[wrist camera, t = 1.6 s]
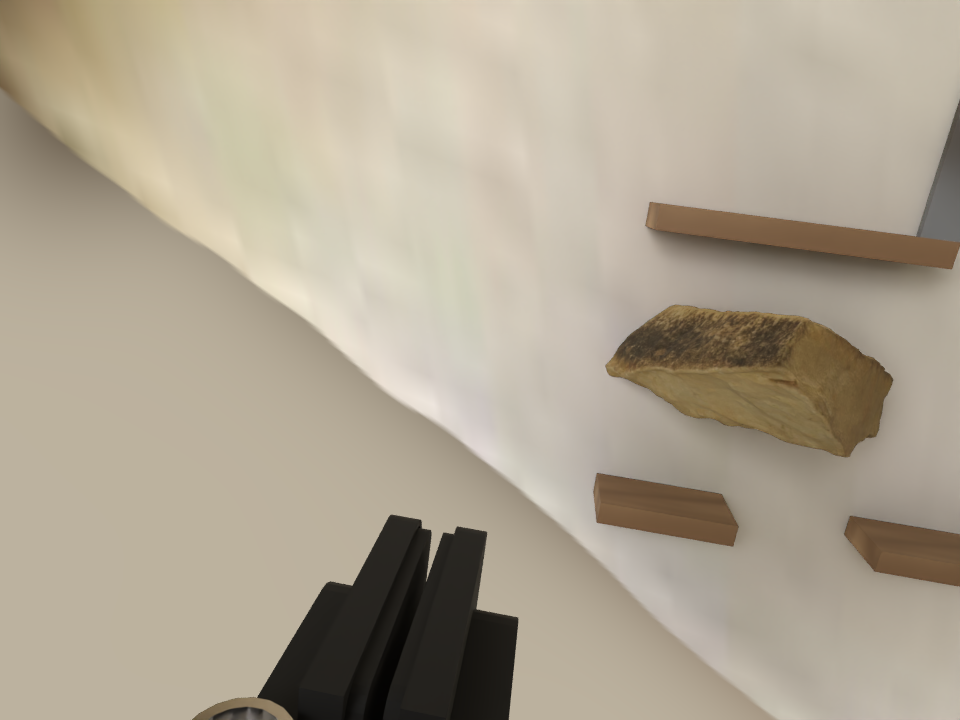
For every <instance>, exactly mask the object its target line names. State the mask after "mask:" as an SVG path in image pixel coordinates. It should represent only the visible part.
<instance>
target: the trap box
mask: <svg viewBox="0 0 960 720" xmlns="http://www.w3.org/2000/svg"><path fill="white" fill-rule="evenodd" d="M645 226H648V227H650V228H652V229H655V230H661V231H668V232H676V233H683V234H691V235H698V236H706V237H713V238H721V239H728V240H736V241H743V242H751V243H758V244H766V245H773V246H781V247H788V248H796V249H803V250H811V251H818V252H826V253H833V254H841V255H848V256H856V257H863V258H871V259H878V260H886V261H893V262H901V263H908V264H916V265H923V266H931V267H938V268H945V269H952V267H953V265H954V262H955V259H956V256H957V253H958V250H959V247H960V101H959V104H958V107H957V110H956V113H955V117H954V120H953V123H952V126H951V129H950V132H949V135H948V139H947V142H946V145H945V148H944V151H943V154H942V157H941V161H940V164H939V167H938V170H937V173H936V176H935V179H934V182H933V186H932V189H931V192H930V195H929V198H928V201H927V204H926V208H925V211H924V214H923V217H922V220H921V223H920V226H919V230H918V233H917V236H916V237H915V236H907V235H900V234H892V233H884V232H876V231H869V230H861V229H853V228H846V227H838V226H830V225H822V224H815V223H807V222H799V221H792V220H784V219H776V218H768V217H761V216H753V215H745V214H737V213H730V212H722V211H714V210H707V209H699V208H691V207H683V206H676V205H668V204H660V203H653V202H650V205H649V210H648V215H647V220H646V225H645ZM953 241H954V242H953ZM593 492H594V502H595V511H596V520H597V523H602V524H608V525H614V526H619V527H625V528H631V529H636V530H642V531H648V532H653V533H659V534H665V535H670V536H676V537H682V538H687V539H693V540H699V541H704V542H710V543H716V544H721V545H727V546H733V545H734V541H735V538H736V534H737V530H738V525H737V523H736V521H735V519H734V517H733V515H732V513H731V512H730V510H729V508H728V506H727V504H726V502H725V500H724V498H723V496H722V494H717V493H712V492H706V491H700V490H694V489H688V488H682V487H676V486H670V485H664V484H658V483H652V482H647V481H641V480H635V479H629V478H623V477H617V476H611V475H605V474H599V473H597V475H596V480H595V486H594V491H593ZM844 535H845V536H846V537H847V538H848V540H849V541H850V542H851V543H852V544H853V546H854V547H855V548H856V549H857V551H858V552H859V553H860V554H861V555H862V557H863V558H864V559H865V560H866V562H867V563H868V564H869V565H870V566H871V568H872V569H873V570H874V571H875V572H880V573H886V574H892V575H897V576H903V577H909V578H914V579H920V580H926V581H931V582H937V583H943V584H948V585H954V586H960V534H954V533H948V532H942V531H936V530H930V529H924V528H918V527H913V526H907V525H901V524H895V523H889V522H883V521H877V520H871V519H865V518H859V517H853V516H850V518H849V521H848V524H847V527H846V530H845V533H844Z"/></svg>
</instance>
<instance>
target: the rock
mask: <svg viewBox="0 0 960 720" xmlns="http://www.w3.org/2000/svg"><path fill="white" fill-rule="evenodd" d="M605 367H606V369H607V372H608V374H609V375H611V376H613V377H623V378H625V379H628V380H630V381H632V382H634V383H636V384H638V385H640V386H643V387H645V388H648V389H650V390H651V391H652V392H653V393H654V394H656V395H657V396H659V397H661V398H663V399H664V400H665V401H667V402H668V403H670V404H672V405H673V406H674V407H675V408H676V409H677V410H679V411H680V412H681V413H683V414H685V415H687V416H691V417H694V418H712V419H715V420H717V421H719V422H721V423H722V424H724V425H728V426H741V427H744V428H753V429H758V430H760V431H763V432H766V433H768V434H771V435H773V436H775V437H776V438H778V439H780V440H783V441H785V442H788V443H792V444H797V445H801V446H806V447H811V448H816V449H822V450H825V451H828V452H830V453H832V454H834V455H837V456H842V457H850V454H851V452H852V451H853V449H854V447H855V446H856V445H857V444H858V443H859V442H860V441H863V440H864V439H865V438H873V437H876V435H877V433H878V431H879V424H880V418H881V414H882V408H883V401H884V398H885V397H886V396H887V394H888V392H889V390H890V388H891V385H892V382H893V378H892V377H891V375H890V374H889V373H887V372H885V371H884V370H885V368H884V367H883V366H881V365H880V363H879V362H878V361H876V360H875V359H874V358H872V357H869V356H866V355H863V354H862V353H861V352H860V351H859V349H857V348H855V347H854V346H852V345H851V344H850V343H849V342H848V341H847V340H845V339H844V338H842V337H840V336H839V335H837V334H835V333H834V332H833V331H832V330H831V329H830V328H827V327H825V326H823V325H821V324H818V323H815V322H812V321H811V320H809V319H808V318H804V317H800V316H788V315H777V314H772V313H760V312H739V311H737V312H732V311H726V312H720V311H716V310H712V309H699V308H697V307H693V306H681V305H674V306H671V307H668V308H667V309H666V310H664V311H662V312H661V313H659V314H658V315H656V316H655V317H654V318H652V319H651V320H649V321H648V322H646V323H645V324H644V325H643V326H641V327H640V328H639V329H637V330H636V331H634V332H633V333H632V334H630V335H629V336H628V337H627V339H626V340H625V341H624V342H623V343H622V344H621V345H620V347H619V348H618V350H617V352H616V353H615V355H614V357H613V358H612V359H611V360H610V362H609V363H607V364H606V366H605Z"/></svg>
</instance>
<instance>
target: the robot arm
mask: <svg viewBox="0 0 960 720" xmlns="http://www.w3.org/2000/svg"><path fill="white" fill-rule="evenodd" d="M486 537H487V532H485V531H479V530H474V529H468V528H463V527H457V528H456V530H455V533H454V534H449V533H443V535H442V538H441V541H440V544H439V547H438V550H437V552H436V555H435V558H434V561H433V564H432V567H431V570H430V573H429V576H428V579H427V581H426V578H427V569H428V561H429V551H430V544H431V530H427V529H422V522H421V520H419V519H413V518H407V517H402V516H396V515H390V516H389V518H388V520H387V522H386V523H385V525H384V527H383V530H382V531H381V533H380V535H379V537H378V539H377V541H376V542H375V544H374V546H373V548H372V550H371V552H370V554H369V556H368V558H367V559H366V561H365V563H364V565H363V567H362V569H361V571H360V573H359V575H358V576H357V578H356V580H355V582H354V584H353V586H351V585H346V584H340V583H335V582H328V583H326V585H325V586H324V587H323V589H322V590H321V592H320V594H319V595H318V597H317V599H316V600H315V602H314V604H313V605H312V607H311V609H310V610H309V612H308V614H307V615H306V617H305V619H304V620H303V622H302V623H301V625H300V627H299V628H298V630H297V632H296V634H295V635H294V637H293V638H292V640H291V642H290V644H289V645H288V647H287V649H286V650H285V652H284V654H283V655H282V657H281V659H280V660H279V662H278V663H277V665H276V667H275V668H274V670H273V672H272V674H271V675H270V677H269V679H268V680H267V682H266V684H265V685H264V687H263V689H262V690H261V692H260V694H259V695H258V697H257V698H255V697H249V698H235V699H231V700H228V701H224V702H221V703H218V704H215V705H214V706H212V707H210V708H208V709H206V710H204V711H203V712H201V713H199V714H198V715H197V716H196V717H195V718H193V719H192V720H509V710H510V700H511V690H512V680H513V670H514V659H515V650H516V640H517V629H518V618H517V617H512V616H507V615H502V614H497V613H492V612H486V611H481V610H476V607H477V600H478V592H479V586H480V579H481V573H482V566H483V559H484V552H485V545H486Z"/></svg>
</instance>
